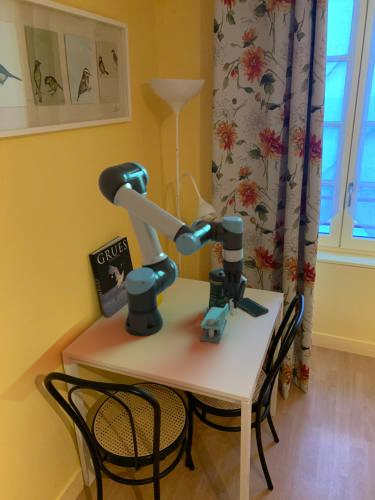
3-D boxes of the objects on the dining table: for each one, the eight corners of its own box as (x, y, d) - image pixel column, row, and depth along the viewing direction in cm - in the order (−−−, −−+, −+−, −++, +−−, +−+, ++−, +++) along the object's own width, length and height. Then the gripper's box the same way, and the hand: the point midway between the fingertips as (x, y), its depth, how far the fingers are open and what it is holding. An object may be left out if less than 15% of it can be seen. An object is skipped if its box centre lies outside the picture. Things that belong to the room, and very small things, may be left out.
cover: (218, 330, 148) (218, 321, 147) (200, 327, 151) (200, 319, 150) (228, 311, 161) (228, 303, 160) (211, 309, 164) (211, 301, 162)
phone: (246, 297, 182) (269, 310, 170) (246, 299, 182) (269, 312, 171) (232, 301, 178) (255, 315, 166) (232, 304, 179) (255, 318, 167)
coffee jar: (217, 316, 169) (217, 275, 162) (206, 309, 175) (204, 269, 168) (235, 308, 174) (235, 269, 167) (223, 302, 180) (222, 263, 173)
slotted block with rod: (197, 341, 152) (197, 325, 149) (207, 319, 166) (207, 304, 164) (218, 343, 150) (218, 327, 147) (226, 321, 164) (226, 306, 162)
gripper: (253, 259, 147) (252, 316, 155) (225, 251, 156) (226, 305, 164) (240, 265, 142) (240, 323, 150) (212, 257, 151) (214, 312, 159)
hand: (233, 314), depth 157 cm, fingers closed
